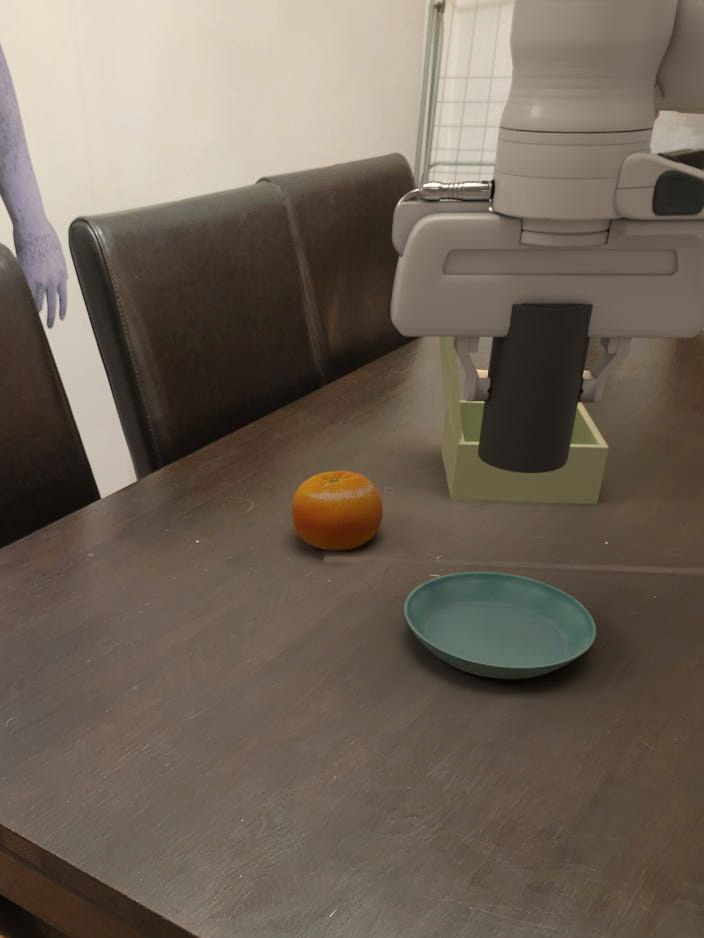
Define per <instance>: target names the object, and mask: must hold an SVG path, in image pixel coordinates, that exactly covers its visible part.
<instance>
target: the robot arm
mask: <svg viewBox="0 0 704 938" xmlns="http://www.w3.org/2000/svg"><path fill="white" fill-rule="evenodd" d="M511 18H512V19H511V25H510V33H509V34H510V35H509V51H510V58H511V59H510V60H511V81H510V82H511V83H510V87H509V88H510V89H509V92H508V96H507V99H506V102H505V105H504V107H503V109H502V112H501V115H500V118H499V119H500V120H499V125H498V126H499V127H498V131H497V132H498V133H497V141H496V150H495V158H494V166H493V173H492V174H493V175H492V177H493V178H492V179H491V180H463V181H458V182H442V181H437V180H435V181H425V182H421V183H420V184H419V185H418V186H419V187H418V188H414V189H411V190H410V191H408V192H406V193H404V194H403V196H402V197H401V198H400V199H399V200H398V202H397V203H396V205H395V208H394V211H393V217H392V229H391V242H392V246H393V248H394V251H395V252H396V254H397V255H398V260H397V264H396V269H395V274H394V279H393V286H392V292H391V301H390V320H391V323H392V324H393V326H394V328H396V330H397V331H398V332H399V333H400V334H401V335H402V336H404V337H411V338H412V337H414V338H415V337H417V338H418V337H420V338H421V337H423V338H424V337H426V338H429V337H430V338H434V337H435V338H439V337H454V341H453V346H454V348H455V350H456V355H457V357H458V359H459V361H460V364H461V365H462V368H463V370H464V372H465V378H464V388H463V390H464V391H463V396H464V400H466V401H470V402H473V401H488V399H489V392H488V389H489V388H490V384H491V376H490V375H488V374H489V373H488V371H489V369H488V370H487V369H476V367H475V364H474V362H473V360H472V358H471V355H470V353H471V354H476V353H477V352H478V351H479V344H480V338H493V337H505V336H506V335H507V333H508V330H509V327H510V319H511V311H512V305H513V304H523V303H530V304H592V305H593V308H592V313H591V318H590V323H589V330H588V337H589V338H590V339H594V338H595V339H596V338H599V339H600V340H599V344H600V346H601V347H602V348H603V349H604V350H603V352H602V353H601V354H600V355H599V357H598V358H597V360H596V361H595V363H594V364H593V365H592V366H591V367H590V369H589V370H584V374H583V379H582V384H581V390H580V395H579V400H578V403H582V404H583V403H584V404H600V403H601V401H602V399H603V394H604V389H605V384H606V380H607V379H609V377H610V376H611V375H613V373H614V372H615V371H616V370H617V368H618V367H619V366H620V365H621V364H622V363H623V361H624V360H625V359H626V357H628V355H629V353H630V348H631V344H632V339H692V338H694V337H696V336H698V334H700V333H701V332H702V331H703V330H704V170H702V169H700V168H697V167H695V166H691V165H688V164H685V163H682V162H681V161H680V159H679V158H677V157H674V156H672V155H670V154H665V153H662V152H658V153H657V154H656V153H652V148H651V143H652V138H653V137H652V136H653V131H654V126H655V121H656V111H659V112H660V111H661V112H662V111H663V112H675V113H680V114H692V115H704V0H514V3H513V9H512V17H511ZM415 197H418V200H411V199H413V198H415Z"/></svg>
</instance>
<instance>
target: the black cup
mask: <svg viewBox="0 0 704 938" xmlns="http://www.w3.org/2000/svg"><path fill="white" fill-rule="evenodd" d="M592 308H593V305H592V304H530V303H523V304H513V305H512V311H511V319H510V327H509V330H508V333H507V335H506V336H505V337H492V339H491V340H492V341H491V348H490V357H489V364H488V373H489V374H488V375H490V376H491V384H490V388H489V389H488V392H489V399H488V401H484V409H483V416H482V424H481V432H480V439H479V447H478V456H479V458H480V459H481V460H482V461H483V462H485V463H486V464H488V465H491V466H493V467H496V468H499V469H502V470H507V471H512V472H520V473H543V472H550V471H554V470H557V469H560V468H561V467H563V466H564V465H565V464H566V463H567V460H568V454H569V449H570V444H571V438H572V433H573V427H574V422H575V417H576V411H577V406H578V400H579V395H580V390H581V384H582V379H583V374H584V371H585V368H586V362H587V356H588V352H589V346H590V341H591V338H589V337H588V330H589V323H590V318H591V313H592Z"/></svg>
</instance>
